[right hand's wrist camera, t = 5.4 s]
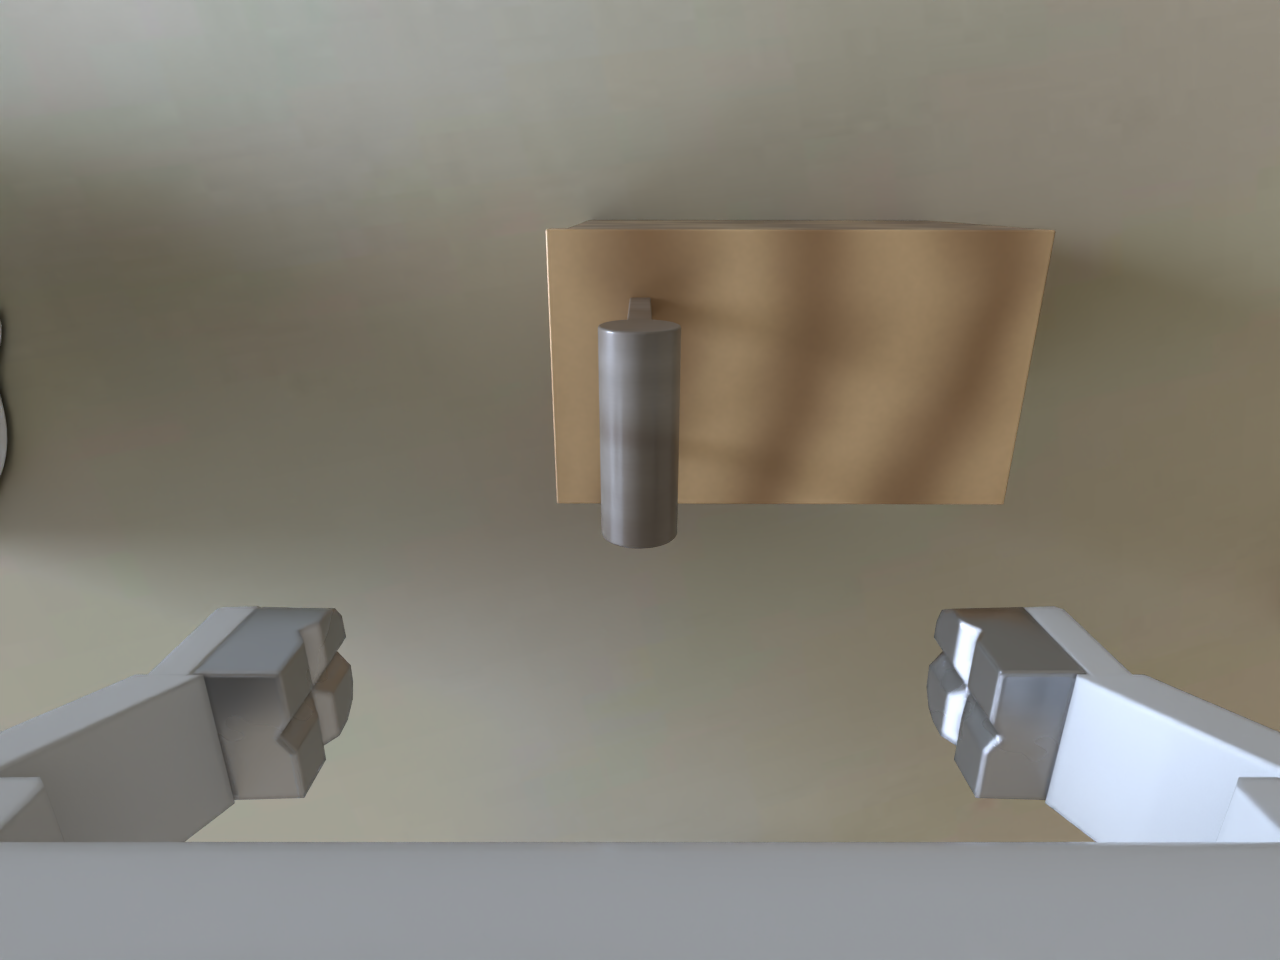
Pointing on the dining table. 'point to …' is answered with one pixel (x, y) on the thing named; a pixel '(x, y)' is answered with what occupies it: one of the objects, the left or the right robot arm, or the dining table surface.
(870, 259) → the lid
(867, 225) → the chest
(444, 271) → the dining table surface
